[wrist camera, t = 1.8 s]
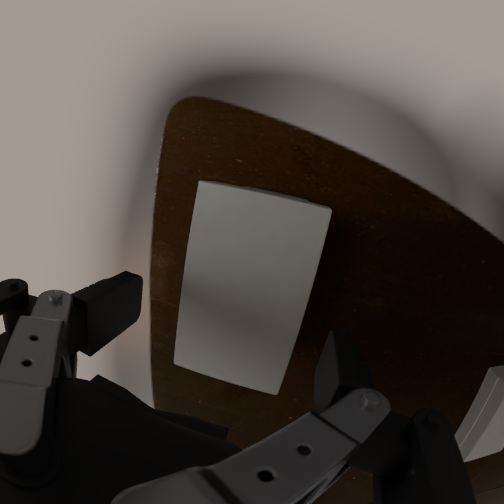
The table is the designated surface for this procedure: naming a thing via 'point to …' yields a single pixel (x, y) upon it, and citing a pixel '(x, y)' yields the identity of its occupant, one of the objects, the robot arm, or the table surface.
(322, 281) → the table surface
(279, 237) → the light grey rectangular block
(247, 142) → the table surface
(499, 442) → the grey block
